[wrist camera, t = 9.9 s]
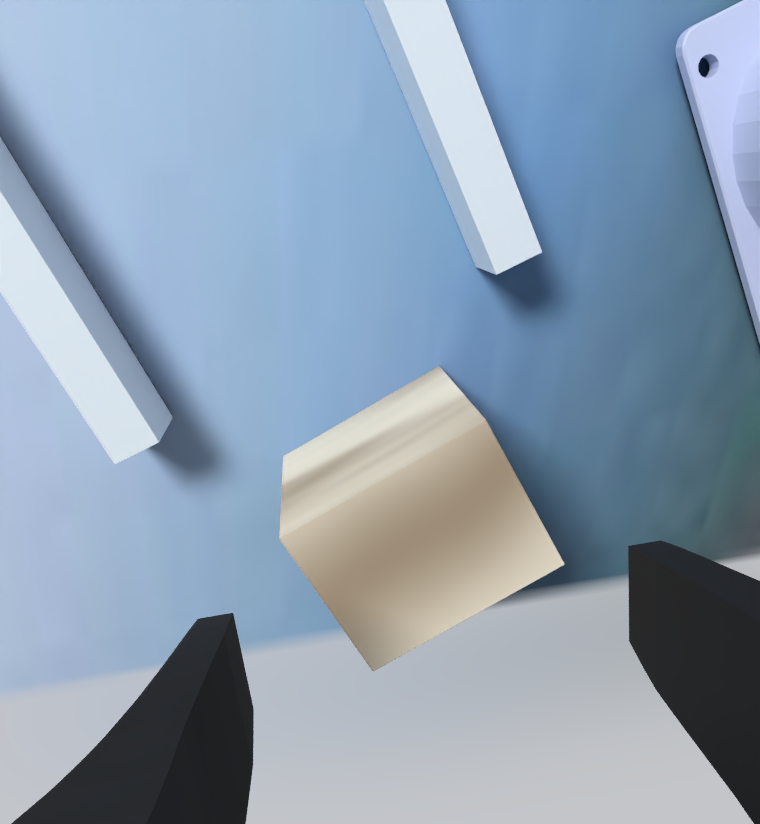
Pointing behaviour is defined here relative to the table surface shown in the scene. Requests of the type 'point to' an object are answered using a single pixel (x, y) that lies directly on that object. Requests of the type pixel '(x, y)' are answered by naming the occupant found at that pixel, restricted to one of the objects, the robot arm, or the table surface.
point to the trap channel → (94, 327)
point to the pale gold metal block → (410, 519)
